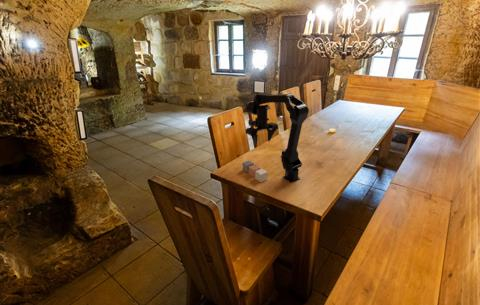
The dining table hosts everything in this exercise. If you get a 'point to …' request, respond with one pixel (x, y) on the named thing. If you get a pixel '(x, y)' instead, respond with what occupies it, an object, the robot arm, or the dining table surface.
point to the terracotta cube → (253, 170)
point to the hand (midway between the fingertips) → (262, 143)
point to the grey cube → (247, 165)
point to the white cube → (261, 175)
